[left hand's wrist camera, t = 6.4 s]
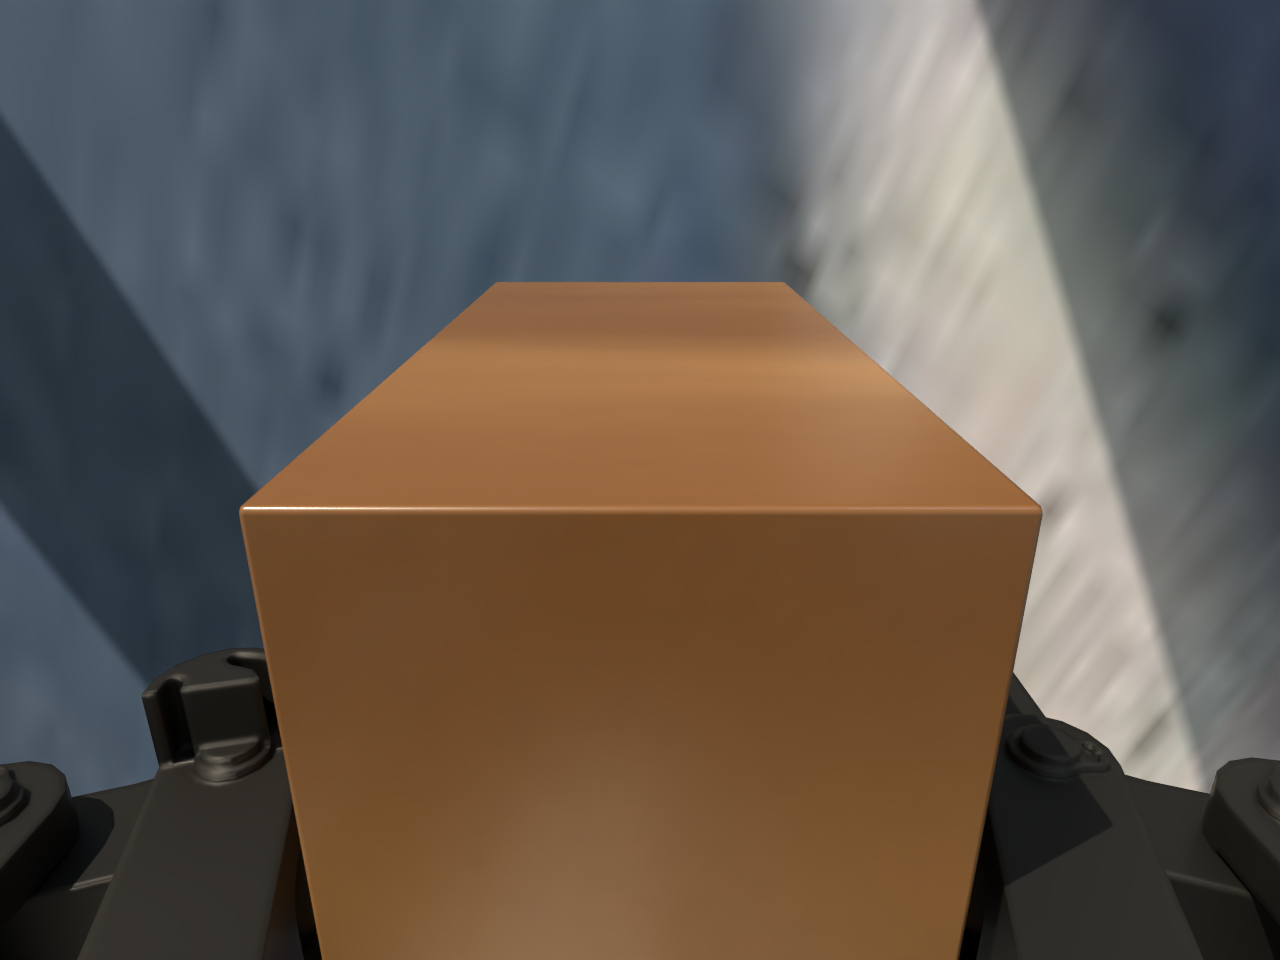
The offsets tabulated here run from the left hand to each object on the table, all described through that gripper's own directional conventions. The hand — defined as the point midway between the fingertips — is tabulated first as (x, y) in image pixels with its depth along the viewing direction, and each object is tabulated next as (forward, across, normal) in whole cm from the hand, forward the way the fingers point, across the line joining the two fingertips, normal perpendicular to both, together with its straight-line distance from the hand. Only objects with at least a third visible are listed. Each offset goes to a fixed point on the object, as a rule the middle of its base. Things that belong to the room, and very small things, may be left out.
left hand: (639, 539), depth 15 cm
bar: (+1, 0, -7) cm, 7 cm away
